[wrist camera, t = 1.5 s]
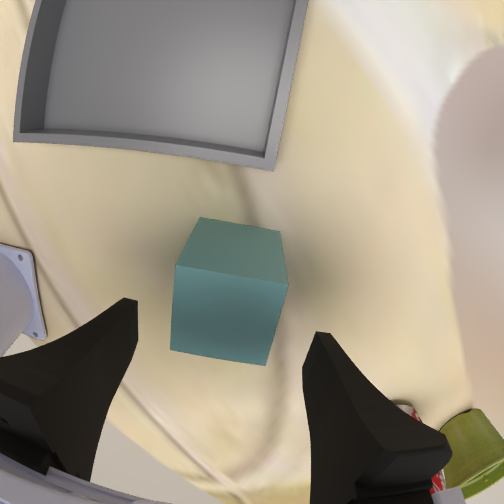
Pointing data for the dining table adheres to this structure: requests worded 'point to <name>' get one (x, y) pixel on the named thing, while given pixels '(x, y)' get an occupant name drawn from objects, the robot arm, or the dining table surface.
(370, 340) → the dining table surface
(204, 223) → the teal block
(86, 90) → the tray
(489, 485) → the plant pot
